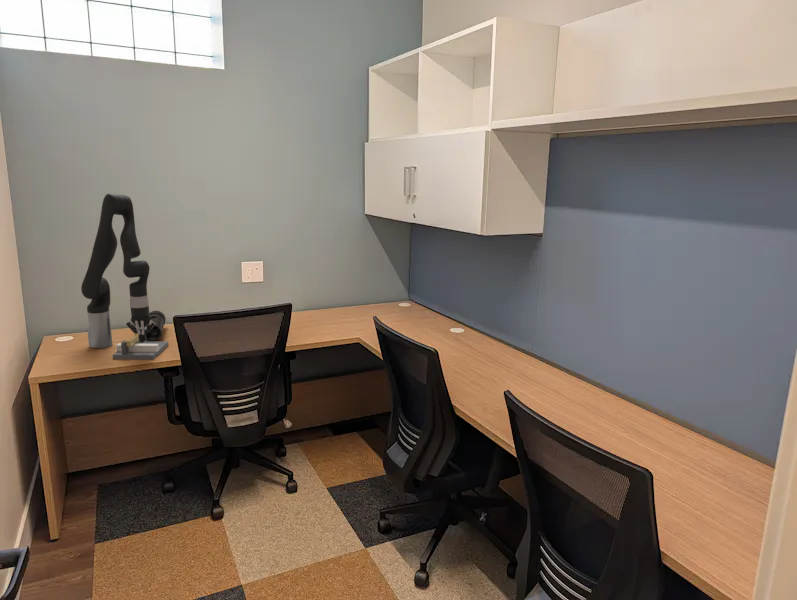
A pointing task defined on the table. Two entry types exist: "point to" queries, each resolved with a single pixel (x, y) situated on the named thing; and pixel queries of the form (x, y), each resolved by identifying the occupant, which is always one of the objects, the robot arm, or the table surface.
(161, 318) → the muzzle brake
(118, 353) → the lock board
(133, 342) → the swing bar
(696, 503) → the table surface
